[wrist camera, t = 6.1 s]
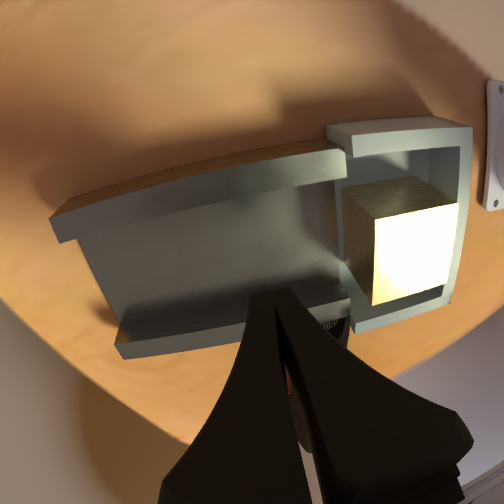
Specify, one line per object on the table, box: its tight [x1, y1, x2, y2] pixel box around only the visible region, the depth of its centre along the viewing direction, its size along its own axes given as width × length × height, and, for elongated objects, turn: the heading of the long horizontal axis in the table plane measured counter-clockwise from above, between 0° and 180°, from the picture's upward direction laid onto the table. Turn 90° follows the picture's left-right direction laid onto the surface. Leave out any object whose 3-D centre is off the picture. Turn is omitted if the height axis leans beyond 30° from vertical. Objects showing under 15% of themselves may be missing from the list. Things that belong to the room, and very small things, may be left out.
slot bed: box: [49, 138, 350, 360], centre depth 14 cm, size 12×8×2 cm
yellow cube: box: [341, 176, 458, 306], centre depth 13 cm, size 4×4×4 cm
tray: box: [325, 116, 473, 335], centre depth 14 cm, size 6×10×3 cm, turn 11°
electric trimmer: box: [288, 317, 350, 453], centre depth 19 cm, size 4×16×3 cm, turn 6°
